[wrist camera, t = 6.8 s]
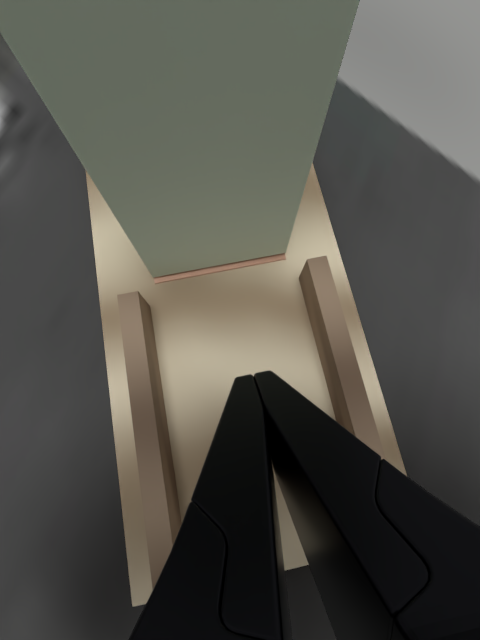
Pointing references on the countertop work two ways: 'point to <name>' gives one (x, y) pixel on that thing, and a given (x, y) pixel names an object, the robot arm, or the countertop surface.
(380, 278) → the countertop surface
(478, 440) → the countertop surface
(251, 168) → the sage block
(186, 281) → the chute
